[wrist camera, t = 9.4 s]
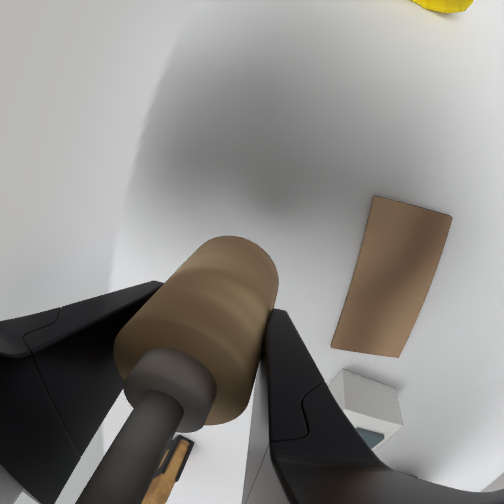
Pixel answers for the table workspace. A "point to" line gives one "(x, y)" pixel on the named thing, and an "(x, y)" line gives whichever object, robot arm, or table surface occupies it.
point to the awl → (187, 360)
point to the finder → (368, 406)
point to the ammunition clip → (168, 471)
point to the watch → (445, 5)
